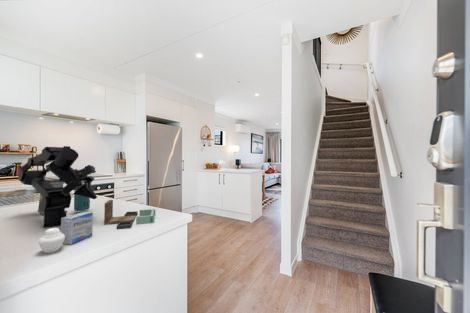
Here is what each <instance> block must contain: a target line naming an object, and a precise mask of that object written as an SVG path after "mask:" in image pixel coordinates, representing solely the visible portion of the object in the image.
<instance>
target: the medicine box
mask: <svg viewBox="0 0 470 313" xmlns="http://www.w3.org/2000/svg"><path fill="white" fill-rule="evenodd" d="M93 215H94V213H93V211H92V212H91V211H80V212H78V213H73V214H70V215H68V216H67V215H66V217H63V218H61V225H60V232H61V233H62V234H64V235H65V239H64V242H63V243H62V245H70V246H71V245H75V244H77V243H79V242H81V241H84V240H86V239H88V238H90V237H92V236H93V222H94V221H93V218H94V217H93Z"/></svg>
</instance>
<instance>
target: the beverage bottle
mask: <svg viewBox="0 0 470 313" xmlns="http://www.w3.org/2000/svg"><path fill="white" fill-rule="evenodd" d="M87 176H88V175H86V177H87ZM73 191H74V192H76V191H75V189H73ZM74 192H73V193H74ZM73 195H74V196H73V210H74V211H75V212H86V211H88V210H90V205H91V200H90V199H91V198H88V197H84V196H81V195H76V194H73Z"/></svg>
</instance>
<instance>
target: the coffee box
mask: <svg viewBox="0 0 470 313" xmlns="http://www.w3.org/2000/svg"><path fill="white" fill-rule="evenodd" d="M59 179H60V178H55V179H54V178H53V179H51V178H49V179H48V178H46V179H45V180H47V181H48V182H49V183H50V184H51V185H52V186H53V187H55V188H56V187H64V184H65V183H64V182H63V181H62V182H60V181H59ZM42 199H43V196H42V195H41V194H40V193H39V201H38V205H39V204H40V202H41V200H42ZM37 208H38V209H37V212H38V213H40V214H42V215H43V216H44V212H42V211H39V206H38V207H37Z"/></svg>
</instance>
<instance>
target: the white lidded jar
mask: <svg viewBox="0 0 470 313" xmlns="http://www.w3.org/2000/svg"><path fill="white" fill-rule="evenodd" d="M64 239H65V235H64V234H62V233H61V229H59V227H50V228H48V229H46V230H45V231H44V234H42V236H41V237H40V238H39V239H38V240H37V241H38V242H37V244H38V245H39V247H40V249H41V250H42V251H43V253H45V254H53V253H56V252H58V251H59V250H60V248H61V247H62V245H63V244H62V243H63V242H64Z"/></svg>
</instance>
